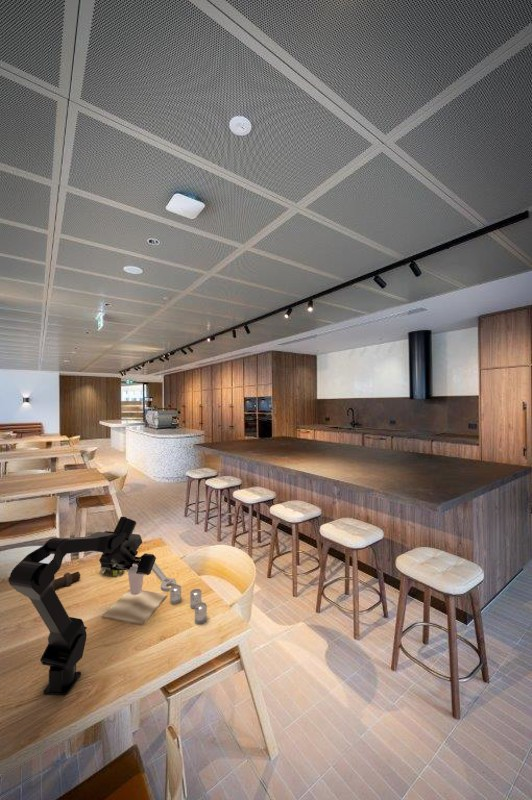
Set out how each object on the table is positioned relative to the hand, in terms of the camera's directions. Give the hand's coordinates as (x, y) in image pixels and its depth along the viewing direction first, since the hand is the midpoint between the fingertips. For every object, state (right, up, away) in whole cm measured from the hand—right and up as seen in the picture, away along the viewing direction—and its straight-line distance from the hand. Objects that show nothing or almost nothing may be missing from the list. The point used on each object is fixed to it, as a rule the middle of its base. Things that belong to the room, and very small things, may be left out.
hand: (138, 569), depth 120 cm
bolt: (-36, -13, +10) cm, 39 cm away
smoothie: (0, -8, -1) cm, 8 cm away
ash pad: (0, -13, -1) cm, 13 cm away
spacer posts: (+20, -13, -1) cm, 24 cm away
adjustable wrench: (+3, -13, +19) cm, 24 cm away
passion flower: (-20, -13, +23) cm, 33 cm away
